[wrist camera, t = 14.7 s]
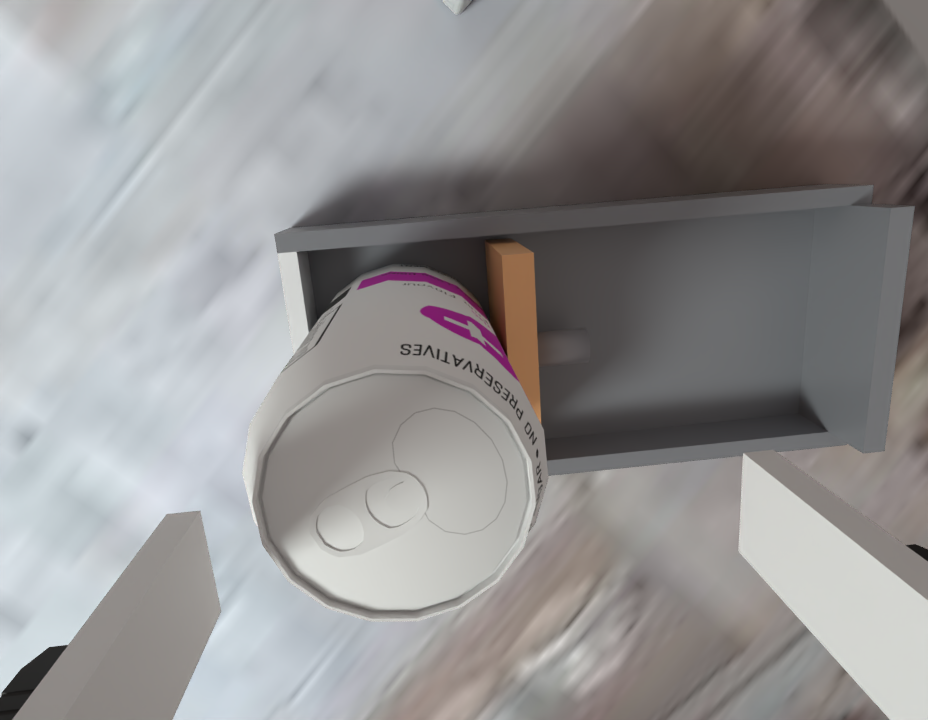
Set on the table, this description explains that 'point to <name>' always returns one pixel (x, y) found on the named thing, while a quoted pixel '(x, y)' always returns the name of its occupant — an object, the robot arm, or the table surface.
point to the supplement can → (396, 452)
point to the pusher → (525, 318)
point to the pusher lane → (672, 314)
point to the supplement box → (457, 5)
